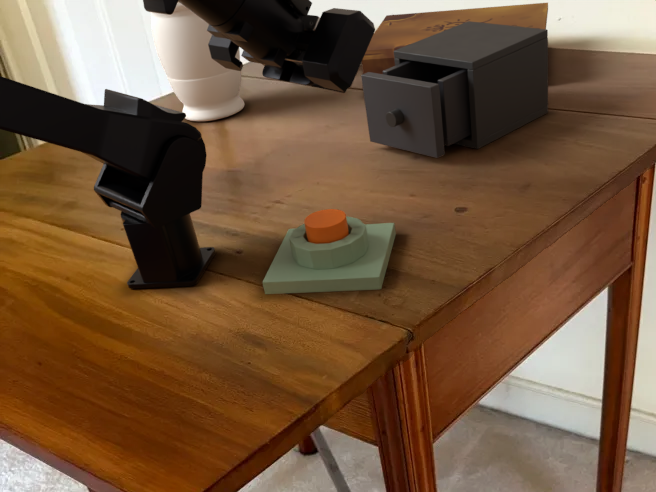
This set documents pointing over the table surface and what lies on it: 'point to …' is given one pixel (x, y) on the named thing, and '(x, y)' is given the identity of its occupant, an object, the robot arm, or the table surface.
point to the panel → (332, 260)
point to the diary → (441, 28)
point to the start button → (326, 226)
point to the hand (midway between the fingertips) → (344, 87)
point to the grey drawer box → (492, 73)
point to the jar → (195, 66)
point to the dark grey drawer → (418, 106)
